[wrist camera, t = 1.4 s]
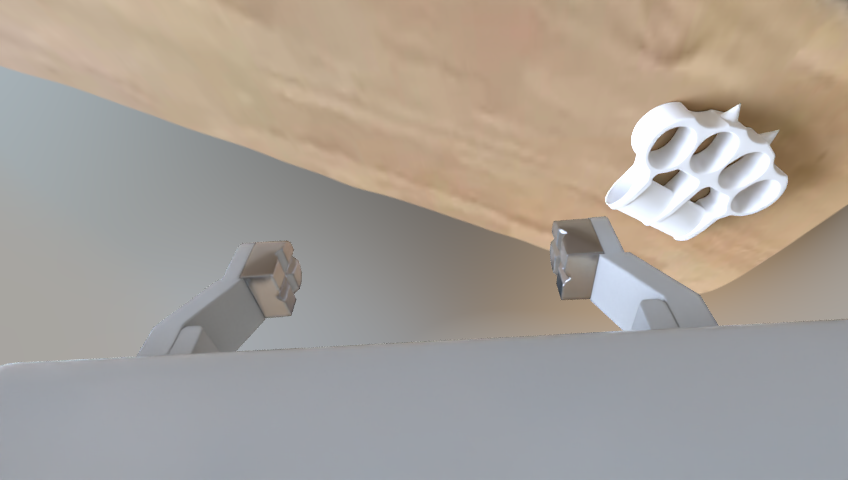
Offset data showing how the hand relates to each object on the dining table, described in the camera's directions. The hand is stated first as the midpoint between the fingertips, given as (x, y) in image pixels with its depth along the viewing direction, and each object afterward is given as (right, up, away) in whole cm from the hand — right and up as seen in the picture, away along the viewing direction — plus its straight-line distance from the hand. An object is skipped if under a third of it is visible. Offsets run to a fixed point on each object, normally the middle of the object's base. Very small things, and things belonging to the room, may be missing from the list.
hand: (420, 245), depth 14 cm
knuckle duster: (+29, +8, +34) cm, 45 cm away
